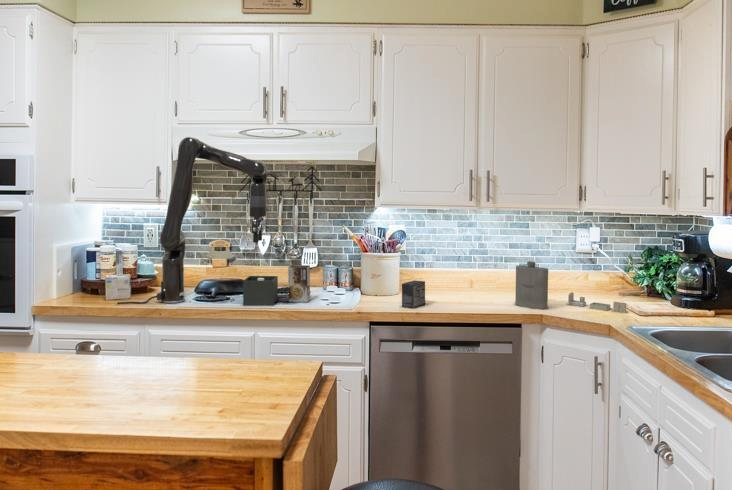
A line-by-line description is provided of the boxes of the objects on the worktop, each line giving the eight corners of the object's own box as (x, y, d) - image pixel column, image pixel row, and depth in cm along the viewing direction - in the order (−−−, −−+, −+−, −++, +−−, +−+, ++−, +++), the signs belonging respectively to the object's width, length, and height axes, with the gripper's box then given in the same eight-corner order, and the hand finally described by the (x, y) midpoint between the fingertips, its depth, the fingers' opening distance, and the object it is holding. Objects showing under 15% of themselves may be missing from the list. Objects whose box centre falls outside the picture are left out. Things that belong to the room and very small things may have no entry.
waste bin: (243, 305, 272) (243, 280, 271) (249, 299, 285) (249, 275, 284) (272, 305, 272) (272, 280, 271) (277, 299, 285) (277, 276, 284)
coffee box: (310, 299, 285) (310, 265, 284) (307, 302, 278) (307, 267, 278) (291, 299, 286) (291, 264, 285) (288, 302, 279) (287, 266, 279)
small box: (413, 302, 279) (413, 279, 279) (425, 304, 276) (426, 281, 275) (400, 306, 271) (401, 283, 270) (413, 308, 267) (413, 284, 266)
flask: (512, 305, 275) (513, 260, 274) (518, 303, 279) (519, 259, 278) (543, 310, 265) (544, 264, 264) (549, 308, 269) (550, 262, 268)
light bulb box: (131, 296, 291) (130, 273, 290) (130, 298, 285) (130, 275, 284) (106, 297, 288) (106, 274, 287) (105, 300, 281) (104, 276, 281)
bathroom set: (567, 304, 276) (567, 293, 276) (571, 303, 280) (572, 291, 279) (624, 313, 260) (624, 300, 260) (628, 311, 264) (628, 299, 263)
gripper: (252, 204, 284) (252, 239, 284) (246, 206, 269) (245, 243, 270) (269, 205, 284) (268, 240, 284) (263, 206, 269) (262, 243, 270)
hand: (257, 241), depth 277 cm, fingers open, 8 cm apart
